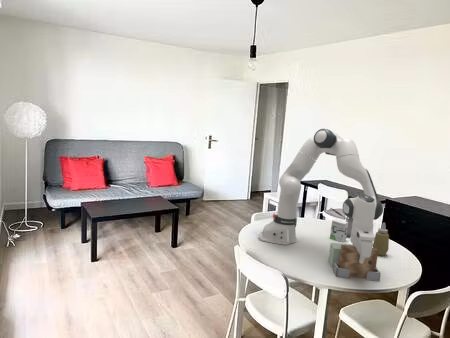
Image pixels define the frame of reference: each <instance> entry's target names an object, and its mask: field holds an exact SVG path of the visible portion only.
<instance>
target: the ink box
mask: <svg viewBox="0 0 450 338" xmlns="http://www.w3.org/2000/svg"><path fill="white" fill-rule="evenodd" d="M347 228H348V222H347V220H343V219H342V220H341V219H338V218H335V219H332V220H331V227H330V236H329V238H330V239H331V240H334V241H338V242H339V243H344V242H346V241H347V236H346V235H347Z"/></svg>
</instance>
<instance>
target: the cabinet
mask: <svg viewBox="0 0 450 338" xmlns="http://www.w3.org/2000/svg"><path fill="white" fill-rule="evenodd" d="M341 245H350V246H353V244H352V243H350V244H348V243H343V242H330V245H329V246H330V247H329V254H328V260H327V261H328V263H329V265H330V268H332V270H333V273H334V275H335V277H339V278H348V279H349V278H350V276H349V272H350V269H345V268H338V266H339V258H340V250H341ZM381 274H382V273H381V271H380V270H379V269H378V267H377V266H376V270H375V272H373V271H367V276H366V278H365V279H366V281H374V282H380V281H381Z"/></svg>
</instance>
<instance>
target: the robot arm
mask: <svg viewBox="0 0 450 338" xmlns="http://www.w3.org/2000/svg"><path fill="white" fill-rule="evenodd" d="M324 153H325V155H330V156H335V158H336V159H335V160H336V165H337V169H338V171H339V173H341V174H342V175H343V176H344V177H347V178H350V179H353V180H354V181H356V182H358V183H359V184H360V185H361V187H362V190H363V193H364V194H358V195H357V196H356V197H349V198H346V199H345V200H344V202H343V203H342V213H343V214H344V215H345V217H346V218H349V217H350V218H353V223H352V231H351V237H349V238H350V239H349V240H350V242H351V244H352V245H353V246H355V247H356V250H357V251H358V252H359V254H360V258H359V263H361V264H363V263H364V259H365V258H369V257H370V256H371V252H372V248H373V243H374V240H375V234H374V220H375V221H376V220H377V219H379V218H380V217H381V216H383V215H382V214H383V213H384V206H383V204H382V202H381V199H380V198H379V196H378V194H377V190H376V188H375V185H374V182H373V179H372V176H371V174H370V172H369V170H368V169H367V168H365V166H363V164H362V162H361V159H360V155H359V151H358V148H357V144H356V143H355V141H354V140H353V139H351V138H342V137H341V136H339V135H338V134H337V133H335V132H333V131H332V130H330V129H328V128H320V129H318V130H317V131H316V132H315V133H314V136H313V137H309V138H307V140H306V141H305V142H304V143H303V145H302V146H301V147H300V149H299V151H298V152H297V154H296V156H295V157H294V158H293V160H292V162H291V163H290V164H289V166H288V167H287V168H286V169H285V171H284V172H283V174H282V175H281V176H280V178H279V181H278V184H279V186H280V194H279V199H278V205H277V214H276V213H272V221H271V222H268V223H266V224H265V226H264V227H263V229H262V231H260V232H259V233H258V239H259V240H260V241H261V242H266V243H272V244H278V245H284V246H288V245H290V244H294V243H296V242H297V233H296V230H297V229H296V227H297V223H298V218H297V212H298V203H299V200H300V195H301V190H302V184H301V181H302V180H303V179H304V178H305V177H306V175H308V174H309V173H310V172H311V170H312V168H313V167H314V165H315V163H316V162H317V160H318V158H319V157H320V156H321V154H324Z"/></svg>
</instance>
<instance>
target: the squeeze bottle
mask: <svg viewBox="0 0 450 338" xmlns="http://www.w3.org/2000/svg"><path fill="white" fill-rule="evenodd" d="M386 227H387V225H386V222H382V225H381V227H379V228H377V229H378V231H377V232H375V234H374V236H375V240H374V241H373V246H372V248H377V250H378V256H381V257H385V256H386V254H388V252H389V245H390V243H389V241H390V234H389V233H388V232H389V230H388V229H386Z"/></svg>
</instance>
